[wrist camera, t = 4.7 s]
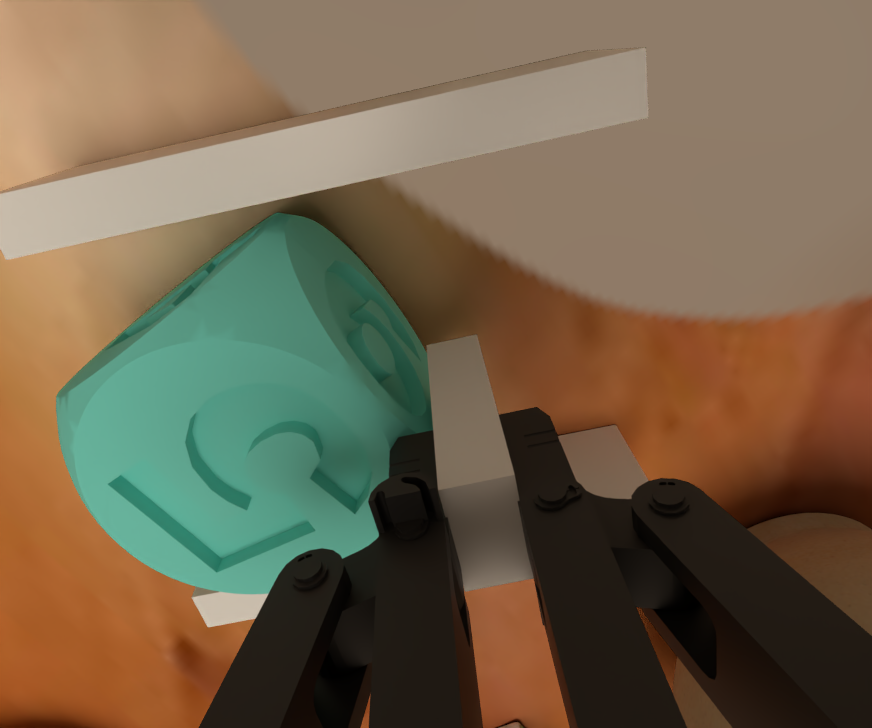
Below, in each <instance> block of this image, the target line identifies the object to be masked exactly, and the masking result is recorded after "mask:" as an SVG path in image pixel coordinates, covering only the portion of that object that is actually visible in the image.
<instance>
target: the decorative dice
mask: <svg viewBox="0 0 872 728" xmlns="http://www.w3.org/2000/svg"><path fill="white" fill-rule="evenodd" d="M56 414H57V424H58V434H59V440H60V445H61V450H62V454H63V457H64V460H65V463H66V466H67V469H68V471H69V474H70V476H71V479H72V481H73V483H74V486H75V488H76V490H77V491H78V493H79V495H80V497H81V499H82V501H83V502H84V504H85V505H86V507H87V509H88V510H89V512H90V513H91V514H92V516H93V517H94V518H95V520H96V521H97V522H98V524H99V525H100V526H101V527H102V528H103V529H104V530H105V531H106V533H107V534H108V535H109V536H110V537H111V538H113V539H114V540H115V541H116V542H117V543H118V544H119V545H120V546H121V547H122V548H124V549H125V550H126V551H127V552H128V553H130V554H131V555H132V556H134V557H135V558H137V559H138V560H139V561H141V562H142V563H144V564H146V565H147V566H149V567H151V568H153V569H154V570H156V571H158V572H160V573H162V574H164V575H166V576H168V577H171V578H173V579H176V580H178V581H181V582H184V583H186V584H189V585H193V586H196V587H200V588H204V589H208V590H213V591H219V592H225V593H234V594H269V592H270V590H271V588H272V586H273V584H274V582H275V580H276V579H277V577H278V575H279V573H280V572H281V571H282V569H283V568H284V567H285V565H286V564H287V563H289V562H290V561H291V560H292V559H294V558H295V557H296V556H298V555H300V554H302V553H305V552H307V551H309V550H314V549H320V548H324V549H330V550H334V551H335V552H337V553H338V554H340V555H341V557H342V559H343V558H345V557H347V556H349V555H351V554H353V553H356V552H358V551H360V550H362V549H363V548H365V547H367V546H369V545H370V544H371V543H372V542H374V541H375V540H376V539H377V538H378V537H379V533H378V530H377V527H376V524H375V521H374V518H373V515H372V512H371V509H370V506H369V503H368V500H369V497H370V494H371V492H372V491H373V490H374V489H375V488H376V487H377V485H378V484H380V483H381V482H383V481H385V480H386V479H388V478H389V467H390V466H389V455H390V450H391V448H392V446H393V445H394V443H395V442H396V440H397V438H398V437H402V436H407V435H412V434H416V433H421V432H426V431H431V430H433V421H432V409H431V396H430V384H429V371H428V359H427V352H426V351H425V349H424V347H423V345H422V343H421V342H420V340H419V338H418V337H417V335H416V333H415V332H414V330H413V328H412V327H411V325H410V324H409V322H408V321H407V319H406V318H405V316H404V315H403V313H402V312H401V310H400V309H399V307H398V306H397V304H396V303H395V302H394V300H393V299H392V298H391V296H390V295H389V294H388V292H387V291H386V290H385V288H384V287H383V286H382V284H381V283H380V282H379V281H378V280H377V278H376V277H375V276H374V275H373V273H372V272H371V271H370V270H369V269H368V268H367V267H366V265H365V264H364V263H363V262H362V261H361V260H360V259H359V258H358V257H357V256H356V255H355V254H354V253H353V252H352V251H351V250H350V249H349V248H348V247H347V246H346V245H345V244H344V243H343V242H342V241H341V240H340V239H339V238H337V237H336V236H335V235H334V234H333V233H331V232H330V231H329V230H328V229H326V228H325V227H323V226H322V225H320V224H319V223H317V222H315V221H313V220H311V219H309V218H306V217H303V216H297V215H291V214H285V213H275V214H273V215H271V216H270V217H268V218H266V219H265V220H263V221H262V222H260V223H259V224H257V225H256V226H255V227H253V228H252V229H250V230H249V231H248V232H246V233H245V234H243V235H242V236H241V237H239V238H238V239H237V240H235V241H234V242H233V243H231V244H230V245H229V246H227V247H226V248H225V249H223V250H222V251H221V252H220V253H218V254H217V255H216V256H214V257H213V258H212V259H211V260H209V261H208V262H207V263H205V264H204V265H203V266H202V267H200V268H199V269H198V270H197V271H195V272H194V273H193V274H192V275H190V276H189V277H188V278H187V279H185V280H184V281H183V282H182V283H180V284H179V285H178V286H177V287H176V288H174V289H173V290H172V291H171V292H169V293H168V294H167V295H166V296H165V297H163V298H162V299H161V300H160V301H159V302H157V303H156V304H155V305H154V306H153V307H151V308H150V309H149V310H148V311H147V312H145V313H144V314H143V315H142V316H141V317H139V318H138V319H137V320H136V321H135V322H134V323H132V324H131V325H130V326H129V327H128V328H127V329H125V330H124V331H123V332H122V333H121V334H120V335H119V336H117V337H116V338H115V339H114V340H113V341H112V342H111V343H109V344H108V345H107V346H106V347H105V348H104V349H103V350H102V351H100V352H99V353H98V354H97V355H96V356H95V357H94V358H93V359H92V360H91V361H89V362H88V363H87V364H86V365H85V366H84V367H83V368H82V369H81V370H80V371H79V372H78V373H77V374H76V375H75V376H74V377H73V378H72V379H71V380H70V381H69V382H68V383H67V384H66V385H65V386H64V387H63V388H62V389H61V390H60V391H59V393H58V394H57V396H56Z"/></svg>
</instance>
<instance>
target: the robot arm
mask: <svg viewBox="0 0 872 728" xmlns="http://www.w3.org/2000/svg"><path fill="white" fill-rule="evenodd" d="M426 346H427V359H428V371H429V384H430V396H431V409H432V421H433V430H431V431H426V432H421V433H416V434H412V435H407V436H402V437H398V438H397V440H396V442H395V443H394V445H393V446H392V448H391V450H390V455H389V466H390V467H389V478H388V479H386V480H385V481H383V482H381V483H380V484H378V485H377V487H376V488H375V489H374V490H373V491H372V492H371V494H370V497H369V500H368V503H369V506H370V509H371V512H372V515H373V518H374V521H375V524H376V527H377V530H378V533H379V537H378V538H377V539H376V540H375V541H374V542H372V543H371V544H370V545H369V546H367V547H365V548H363V549H362V550H360V551H358V552H356V553H353V554H351V555H349V556H347V557H345V558H343V559H342V557H341V555H340V554H338V553H337V552H335V551H334V550H330V549H324V548H320V549H314V550H309V551H307V552H305V553H302V554H300V555H298V556H296V557H295V558H294V559H292V560H291V561H290V562H289V563H287V564H286V565H285V567H284V568H283V569H282V571H281V572H280V573H279V575H278V577H277V579H276V580H275V582H274V584H273V586H272V588H271V590H270V592H269V594H268V596H267V598H266V600H265V602H264V603H263V605H262V607H261V609H260V611H259V613H258V615H257V617H256V619H255V621H254V623H253V625H252V626H251V628H250V630H249V632H248V634H247V636H246V638H245V640H244V642H243V644H242V646H241V648H240V649H239V651H238V653H237V655H236V657H235V659H234V661H233V663H232V665H231V667H230V669H229V671H228V672H227V674H226V676H225V678H224V680H223V682H222V684H221V686H220V688H219V690H218V692H217V694H216V695H215V697H214V699H213V701H212V703H211V705H210V707H209V709H208V711H207V713H206V715H205V717H204V718H203V720H202V722H201V724H200V726H199V728H360V727H361V724H362V720H363V717H364V713H365V710H366V706H367V703H368V700H369V696H370V693H371V696H370V716H369V728H483V724H482V716H481V707H480V699H479V691H478V683H477V674H476V666H475V658H474V650H473V641H472V633H471V625H470V617H469V611H468V607H467V603H466V600H465V596H464V589H465V591H471V590H476V589H481V588H486V587H491V586H497V585H502V584H507V583H512V582H517V581H522V580H527V579H533V578H534V581H535V587H536V592H537V597H538V602H539V607H540V612H541V618H542V623H543V625H544V626H545V630H546V634H547V638H548V642H549V646H550V650H551V654H552V658H553V662H554V666H555V670H556V674H557V678H558V682H559V686H560V690H561V694H562V698H563V702H564V706H565V710H566V714H567V718H568V722H569V726H570V728H687V726H686V724H685V721H684V719H683V717H682V714H681V712H680V710H679V707H678V705H677V702H676V700H675V698H674V695H673V693H672V691H671V688H670V686H669V684H668V681H667V679H666V677H665V674H664V672H663V670H662V667H661V665H660V662H659V660H658V658H657V655H656V653H655V651H654V648H653V646H652V644H651V641H650V639H649V637H648V634H647V632H646V630H645V627H644V625H643V622H642V620H641V618H640V615H639V613H638V611H637V608H636V607H640V608H642V610H643V612H644V614H645V616H646V617H647V618H648V620H649V621H650V622H651V623H652V625H653V626H654V627H655V629H656V630H657V631H658V632H659V634H660V635H661V636H662V638H663V639H664V640H665V642H666V643H667V644H668V645H669V647H670V648H671V649H672V651H673V652H674V653H675V654H676V656H677V657H678V658H679V660H680V661H681V662H682V663H683V665H684V666H685V667H686V669H687V670H688V671H689V672H690V674H691V675H692V676H693V678H694V679H695V680H696V681H697V683H698V684H699V685H700V687H701V688H702V689H703V690H704V692H705V693H706V694H707V696H708V697H709V698H710V700H711V701H712V702H713V703H714V705H715V706H716V707H717V709H718V710H719V711H720V712H721V714H722V715H723V716H724V718H725V719H726V720H727V721H728V723H729V724H730V725H731V727H732V728H872V636H871V635H870V634H869V633H868V632H867V631H865V630H864V629H863V628H862V627H861V626H860V625H858V624H857V623H856V622H855V621H854V620H853V619H851V618H850V617H849V616H848V615H847V614H846V613H844V612H843V611H842V610H841V609H840V608H839V607H837V606H836V605H835V604H834V603H833V602H832V601H830V600H829V599H828V598H827V597H826V596H825V595H823V594H822V593H821V592H820V591H819V590H818V589H816V588H815V587H814V586H813V585H812V584H810V583H809V582H808V581H807V580H806V579H805V578H803V577H802V576H801V575H800V574H799V573H798V572H796V571H795V570H794V569H793V568H792V567H791V566H789V565H788V564H787V563H786V562H785V561H784V560H782V559H781V558H780V557H779V556H778V555H777V554H775V553H774V552H773V551H772V550H771V549H770V548H768V547H767V546H766V545H765V544H764V543H763V542H761V541H760V540H759V539H758V538H757V537H755V536H754V535H753V534H752V533H751V532H750V531H748V530H747V529H746V528H745V527H744V526H743V525H741V524H740V523H739V522H738V521H737V520H736V519H734V518H733V517H732V516H731V515H730V514H729V513H727V512H726V511H725V510H724V509H723V508H722V507H720V506H719V505H718V504H717V503H716V502H715V501H713V500H712V499H711V498H710V497H709V496H708V495H706V494H705V493H704V492H703V491H702V490H700V489H699V488H697V487H696V486H694V485H692V484H691V483H689V482H685V481H681V480H678V479H664V478H660V479H656V480H652V481H647V482H646V483H644V484H642V485H641V486H639V487H637V489H636V490H635V491H634V493H633V494H632V496H631V499H615V498H606V497H601V496H598V495H594V494H592V493H590V492H588V491H586V490H585V489H584V487H583V486H582V485H581V484H580V483H578V482H577V480H576V479H575V476H574V474H573V471H572V469H571V467H570V464H569V462H568V459H567V457H566V455H565V452H564V450H563V447H562V445H561V442H560V441H559V438H558V435H557V433H556V432H555V428H554V426H553V423H552V421H551V418H550V416H549V415H547V414H546V413H544V412H543V411H542V410H540V409H539V408H537V407H534V408H530V409H525V410H520V411H515V412H510V413H505V414H501V415H498V411H497V407H496V404H495V400H494V396H493V393H492V389H491V385H490V382H489V378H488V374H487V370H486V367H485V363H484V359H483V356H482V352H481V348H480V344H479V341H478V337H477V334H476V335H472V336H467V337H462V338H458V339H453V340H448V341H444V342H439V343H434V344H430V345H426ZM463 585H464V588H463Z"/></svg>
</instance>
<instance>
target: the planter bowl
mask: <svg viewBox="0 0 872 728" xmlns="http://www.w3.org/2000/svg"><path fill="white" fill-rule="evenodd" d="M747 530H748V531H750V532H751V533H752V534H753V535H754V536H755V537H757V538H758V539H759V540H760V541H761V542H763V543H764V544H765V545H766V546H767V547H768V548H770V549H771V550H772V551H773V552H774V553H775V554H777V555H778V556H779V557H780V558H781V559H782V560H784V561H785V562H786V563H787V564H788V565H789V566H791V567H792V568H793V569H794V570H795V571H796V572H798V573H799V574H800V575H801V576H802V577H803V578H805V579H806V580H807V581H808V582H809V583H810V584H812V585H813V586H814V587H815V588H816V589H818V590H819V591H820V592H821V593H822V594H823V595H825V596H826V597H827V598H828V599H829V600H830V601H832V602H833V603H834V604H835V605H836V606H837V607H839V608H840V609H841V610H842V611H843V612H844V613H846V614H847V615H848V616H849V617H850V618H851V619H853V620H854V621H855V622H856V623H857V624H858V625H860V626H861V627H862V628H863V629H864V630H865V631H867V632H868V633H869V634H870V635H871V636H872V529H870V528H869V527H867V526H865V525H864V524H862V523H860V522H858V521H856V520H853V519H850V518H848V517H844V516H840V515H835V514H828V513H800V514H792V515H787V516H783V517H778V518H774V519H771V520H768V521H765V522H763V523H760V524H757V525H755V526H752V527H750V528H748V529H747ZM673 695H674V698H675V700H676V702H677V705H678V707H679V710H680V712H681V714H682V717H683V719H684V721H685V724H686V726H687V728H732V727H731V725H730V724H729V723H728V721H727V720H726V719H725V718H724V716H723V715H722V714H721V712H720V711H719V710H718V709H717V707H716V706H715V705H714V703H713V702H712V701H711V700H710V698H709V697H708V696H707V694H706V693H705V692H704V690H703V689H702V688H701V687H700V685H699V684H698V683H697V681H696V680H695V679H694V678H693V676H692V675H691V674H690V672H689V671H688V670H687V669H686V667H685V666H684V665H683V663H682V662H681V661H680V660H679V658H678V657H677V661H676V667H675V674H674V683H673Z"/></svg>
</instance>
